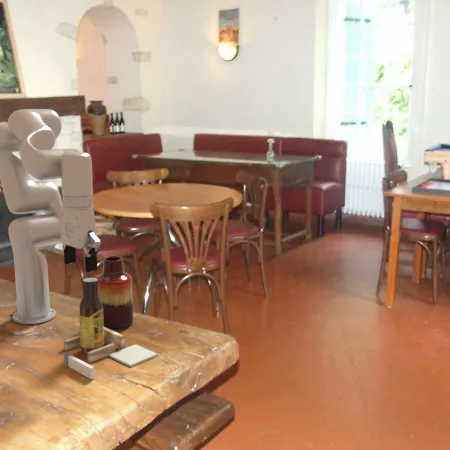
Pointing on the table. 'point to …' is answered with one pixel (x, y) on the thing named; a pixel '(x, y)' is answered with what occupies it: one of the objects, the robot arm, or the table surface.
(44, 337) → the table surface
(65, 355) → the bar
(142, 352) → the tile
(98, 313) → the sauce bottle
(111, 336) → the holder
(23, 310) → the robot arm
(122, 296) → the vase
